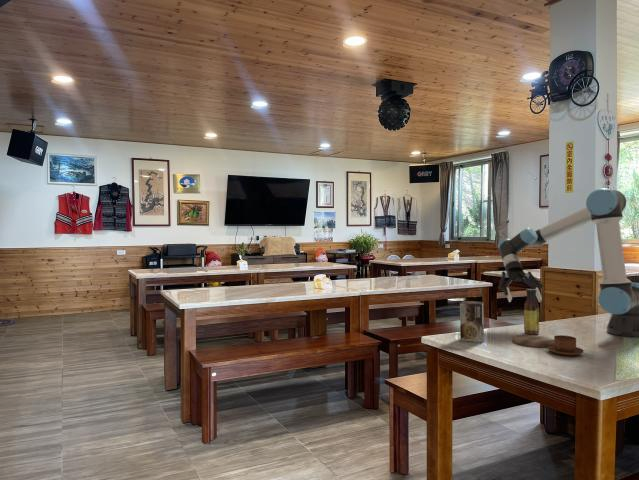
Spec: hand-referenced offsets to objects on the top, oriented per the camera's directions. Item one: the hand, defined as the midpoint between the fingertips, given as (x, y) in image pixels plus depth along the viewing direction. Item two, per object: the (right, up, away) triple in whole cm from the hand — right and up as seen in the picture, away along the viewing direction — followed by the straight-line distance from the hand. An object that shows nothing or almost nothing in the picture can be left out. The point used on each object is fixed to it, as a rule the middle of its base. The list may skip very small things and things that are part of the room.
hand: (525, 300), depth 215 cm
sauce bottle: (+1, -14, -4) cm, 15 cm away
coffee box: (-30, -15, -18) cm, 38 cm away
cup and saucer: (-3, -15, -39) cm, 42 cm away
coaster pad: (-7, -15, -23) cm, 28 cm away
